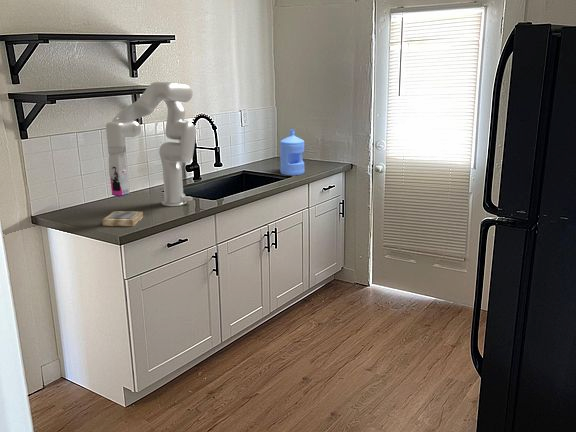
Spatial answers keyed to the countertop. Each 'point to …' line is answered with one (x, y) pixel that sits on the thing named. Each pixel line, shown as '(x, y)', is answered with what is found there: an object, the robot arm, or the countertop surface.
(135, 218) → the square wooden tray
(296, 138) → the water jug
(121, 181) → the supplement box
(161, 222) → the countertop surface
